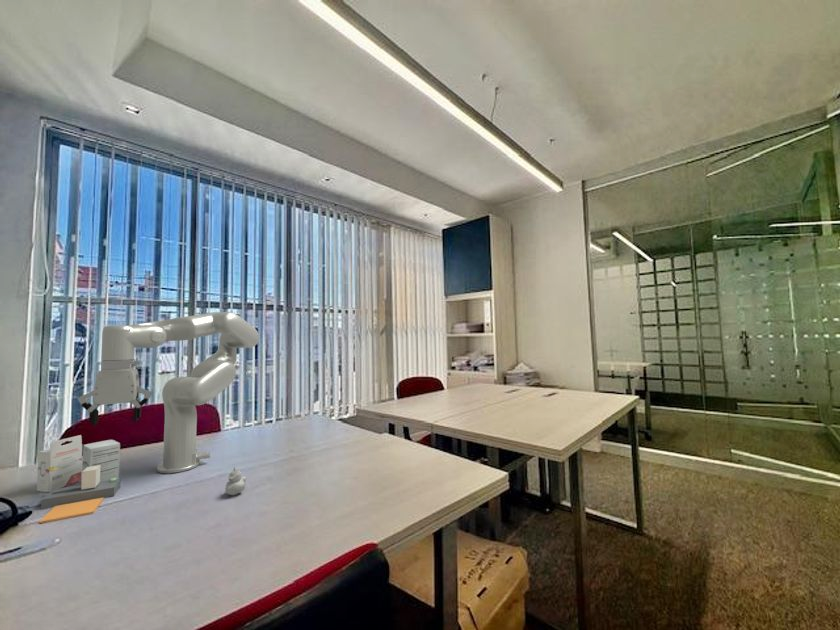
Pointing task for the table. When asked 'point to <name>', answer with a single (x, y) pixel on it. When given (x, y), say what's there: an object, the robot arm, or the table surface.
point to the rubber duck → (235, 483)
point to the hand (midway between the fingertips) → (115, 422)
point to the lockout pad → (72, 510)
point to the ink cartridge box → (60, 464)
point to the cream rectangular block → (90, 477)
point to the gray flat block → (80, 493)
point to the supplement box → (103, 458)
